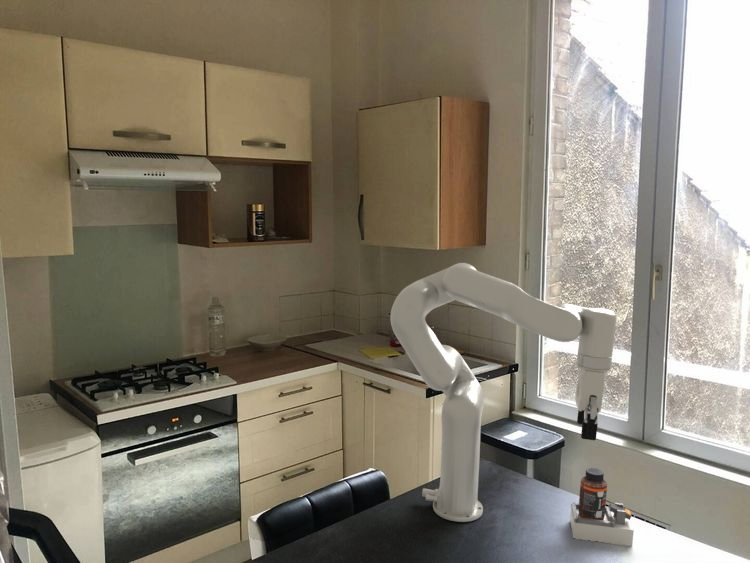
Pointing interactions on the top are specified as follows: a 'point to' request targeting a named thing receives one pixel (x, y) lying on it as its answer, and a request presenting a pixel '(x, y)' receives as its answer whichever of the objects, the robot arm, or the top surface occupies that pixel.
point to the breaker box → (602, 527)
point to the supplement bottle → (593, 494)
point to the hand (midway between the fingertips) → (585, 431)
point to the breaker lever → (614, 509)
